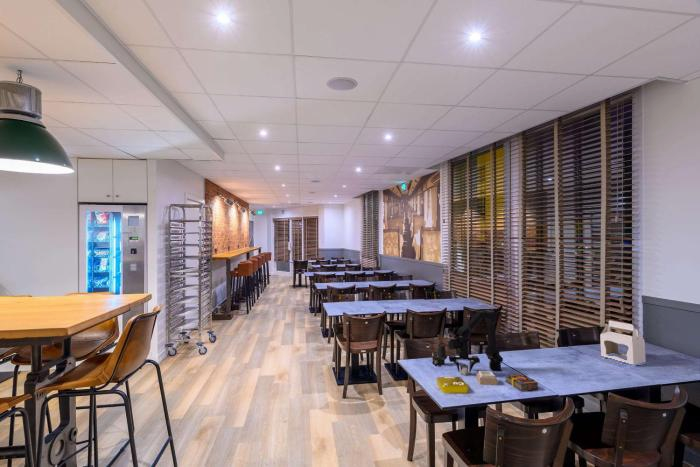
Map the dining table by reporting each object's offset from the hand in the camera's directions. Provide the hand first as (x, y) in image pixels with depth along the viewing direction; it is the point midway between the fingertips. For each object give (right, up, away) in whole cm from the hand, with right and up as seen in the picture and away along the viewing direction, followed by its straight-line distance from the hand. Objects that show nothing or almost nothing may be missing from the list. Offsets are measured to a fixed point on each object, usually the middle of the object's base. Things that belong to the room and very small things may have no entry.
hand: (464, 372), depth 220 cm
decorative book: (+28, -1, -19) cm, 34 cm away
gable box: (+124, -2, +25) cm, 126 cm away
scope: (-11, -3, +19) cm, 22 cm away
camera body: (+9, -1, -13) cm, 16 cm away
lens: (0, -2, 0) cm, 2 cm away
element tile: (-15, -1, -22) cm, 26 cm away
